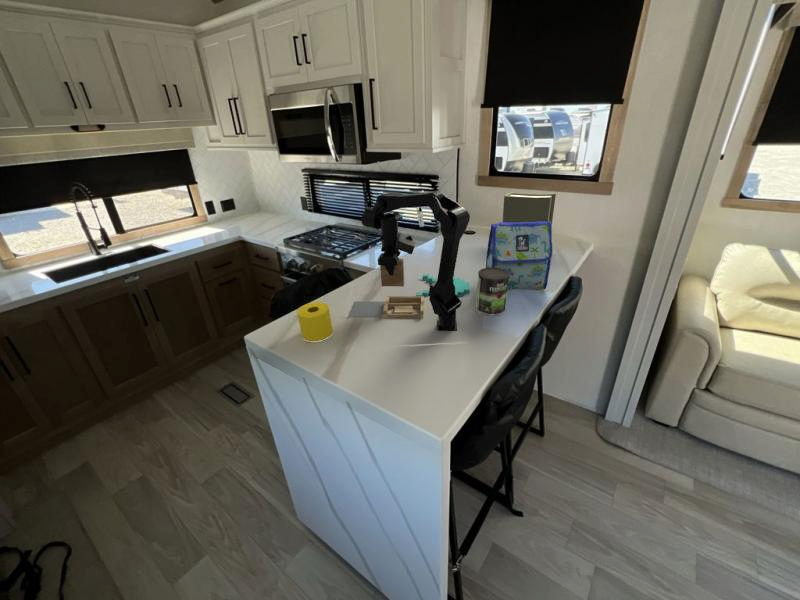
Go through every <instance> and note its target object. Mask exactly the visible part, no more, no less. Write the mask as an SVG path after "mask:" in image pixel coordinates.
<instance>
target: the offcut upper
mask: <svg viewBox="0 0 800 600" xmlns="http://www.w3.org/2000/svg"><path fill="white" fill-rule="evenodd" d="M413 309H414V308H413V306H395V308H394V313H393V314H413Z"/></svg>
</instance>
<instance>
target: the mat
mask: <svg viewBox="0 0 800 600" xmlns="http://www.w3.org/2000/svg"><path fill="white" fill-rule="evenodd" d="M385 302H386V300H385V301H378V300H377V301H360V300H358V301H353V304H352V305H351V307H350V308H351V309H350V311H349V312H348V313H349V314H347V315H348V316H347V319H349V318H352V319H353V318H356V319H357V318H359V319H360V318H361V319H362V318H363V319H364V318H370V319H372V318H373V319H374V318H375V319H376V318H378V319H380V318H382V316H383V310H384V306H385Z"/></svg>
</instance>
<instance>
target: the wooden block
mask: <svg viewBox="0 0 800 600" xmlns="http://www.w3.org/2000/svg"><path fill="white" fill-rule="evenodd" d="M379 266H380V268H379V269H380V280H381V281H380V282H381V287H404V286H405V272H404V269H405V268H404V258H399V260H398V263H397V265H395V266H394V272H393V276H390V275H389V273H388V271H387V269H386V268H385V266H384V265H379Z"/></svg>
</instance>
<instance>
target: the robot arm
mask: <svg viewBox="0 0 800 600" xmlns="http://www.w3.org/2000/svg"><path fill="white" fill-rule="evenodd" d="M425 207H429V209H430V210H431V212H432V215H433V217H434V218H435V220H437V222H438V223H439V226H440V228H439V229H440V233H441V235H442V238H443V240H442V246H441V247H442V248H441V253H440V261H439V266H438V272H437V278H436V279H437V281H436V282H434V283H432V282H431V284H430V285H429V287H428V288H429V289H428V290H429V294H428V296H427V297H429V298H428V301H429V303H430V304H431V307H432V310H433V313H434V315H436V316H437V318H438V319H437V320H436V329H437V331H439V332H457V331H458V323H457V310H458V309H459V308H460V307H461V306H462V301H461V300H460V298H459V296H457V295H456V294H455V286H454V283H453V276H454V275H455V269H456V265H457V264H456V263H457V260H458V259H457V258H458V255H459V254H458V253H459V252H458V251H459V246H460V241H461V239H462V237H463V236H464V233H465V232H466V230H467V227H468V225H469V223H470V219H471V216H470V213H469V211H468V209H466V208H465V207H463V206H461V205H460V204H459V202H457V201H455V200H454V199H452V198H450V197H448V196H447V195H446V194H445V193H444V192H443V191H441V190H435V191H434V190H433V191H428V192H417V193H409V194H407V193H406V194H405V193H402V192H397V191H389V192H386V193H383V194H380V195H378V196H376V200H375V203H374V205H373V207H368V206H367V207H365V208H364V212H363V214H362V216H361V220H360V221H361V224H362V226H363V227H364V228H368V229H372V230H373V229H374V230H377V231H378V230H379V231H380V233H381V234H380V236H379V237H380V239H379V240H380V241H381V248H380V250H381V252H383V253H380V254H379V256H378V258H377V265H378V266H380V265H384V266H385V268H386V269H387V271H388V273H389V275H390V276H393V272H394V266H395V265H397V263H398V260H399V259H400V257H399V256H400V255H401V251H402V252H404V253H406V254H408V255H412V254H413V252H414V249H415V247H416V241H415V240H413V239H414V237H413V235H411V234H408V235H407V236H406V237H401V234H400V232H399V224H398V223H399V221H400V220H402V219H403V218H404V217H403V215H401V214H400V212H399V211H396V210H399V209H409V208H412V209H413V208H425ZM393 211H395V212H393Z"/></svg>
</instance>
